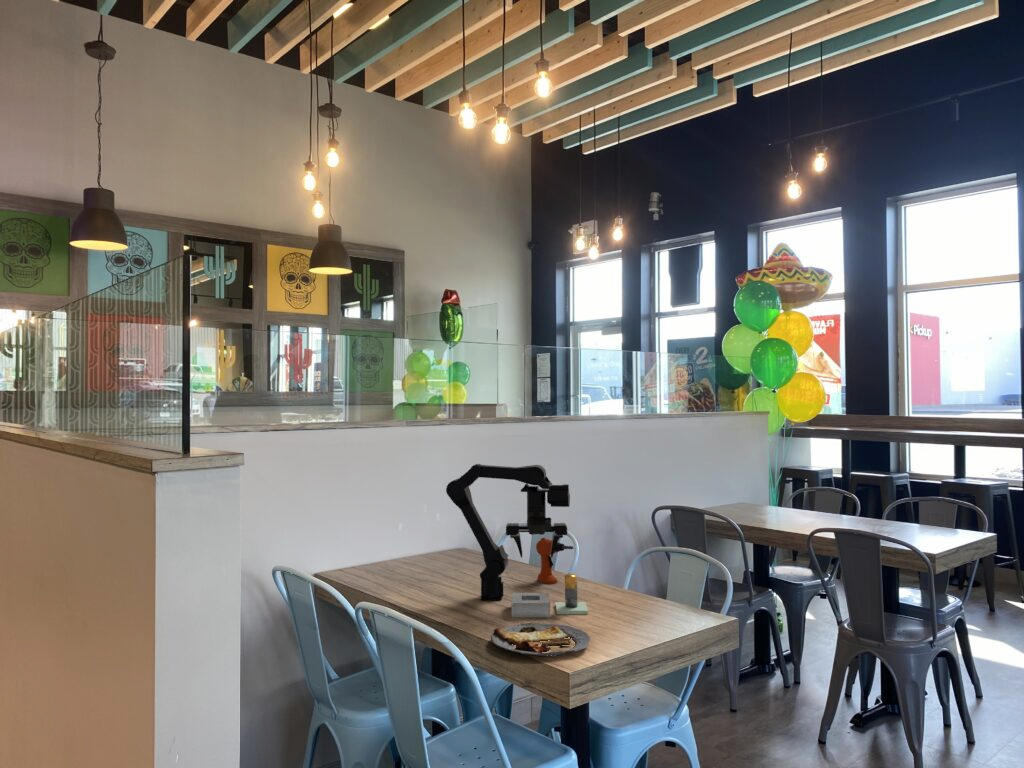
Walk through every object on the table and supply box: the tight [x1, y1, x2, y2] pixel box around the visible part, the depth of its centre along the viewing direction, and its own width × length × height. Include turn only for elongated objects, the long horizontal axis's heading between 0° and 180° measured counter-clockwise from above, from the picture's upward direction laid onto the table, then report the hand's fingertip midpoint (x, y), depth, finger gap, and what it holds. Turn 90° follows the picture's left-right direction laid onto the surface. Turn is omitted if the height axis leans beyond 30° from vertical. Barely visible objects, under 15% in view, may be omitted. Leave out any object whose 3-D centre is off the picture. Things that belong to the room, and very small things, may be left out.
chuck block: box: [511, 592, 551, 618], centre depth 225 cm, size 11×11×4 cm
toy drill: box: [535, 537, 574, 585], centre depth 257 cm, size 5×19×15 cm, turn 36°
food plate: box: [490, 621, 591, 657], centre depth 196 cm, size 25×23×4 cm
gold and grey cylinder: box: [564, 573, 579, 608], centre depth 226 cm, size 4×4×9 cm
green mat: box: [555, 601, 589, 615], centre depth 227 cm, size 9×9×1 cm
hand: (536, 557), depth 238 cm, fingers open, 9 cm apart
